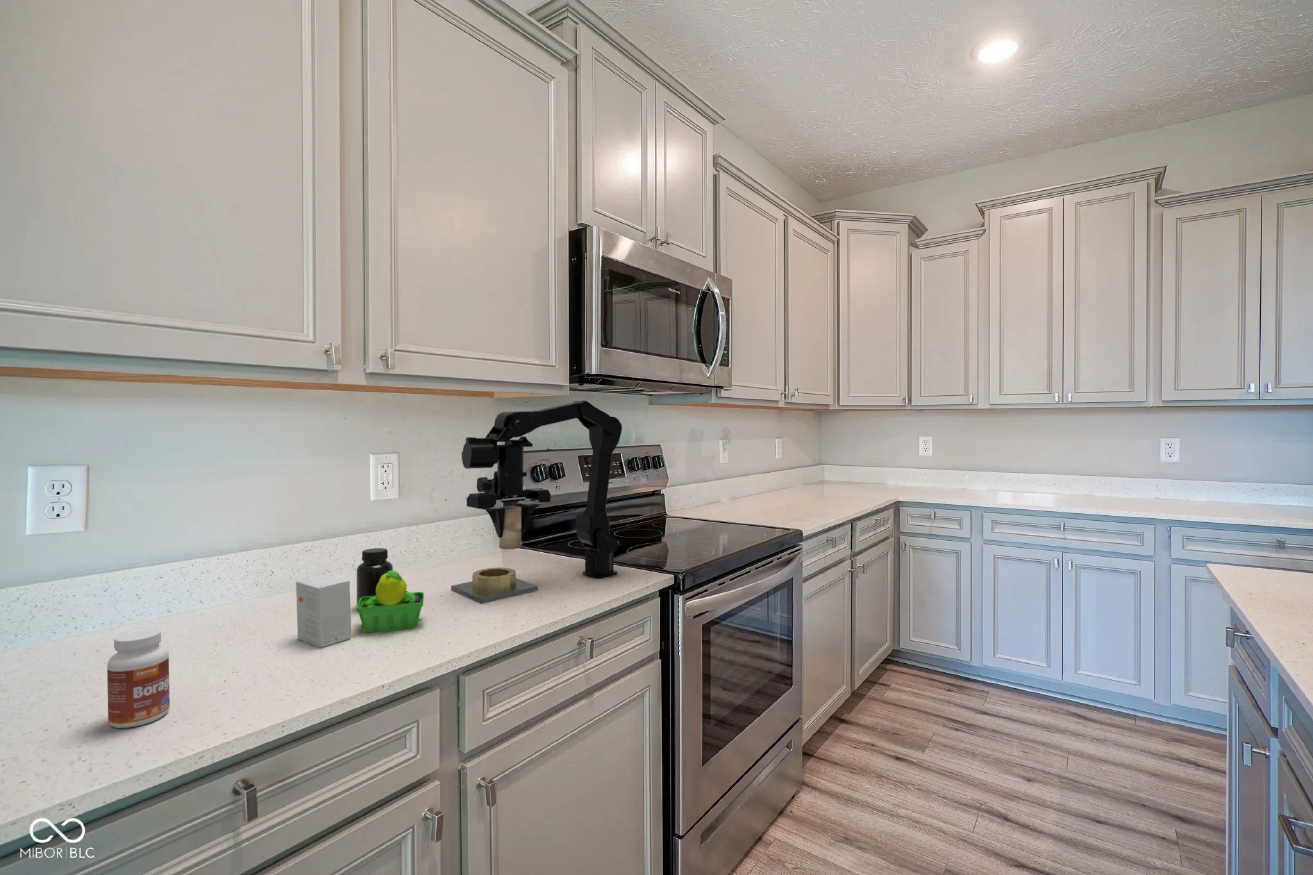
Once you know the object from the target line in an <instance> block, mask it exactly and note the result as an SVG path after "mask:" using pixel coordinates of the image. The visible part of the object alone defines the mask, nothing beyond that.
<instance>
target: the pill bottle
mask: <svg viewBox="0 0 1313 875" xmlns="http://www.w3.org/2000/svg"><path fill="white" fill-rule="evenodd" d="M161 642H162V631H161V630H160V629H157V628H144V629H138V630H133V631H127V632H125V633H122V634H119V635H117V636H116V637H114V639H113V648H114V650H115V651H116V653H114V654H113V655H112V656H111V657H110V658H109V659H108V661H107V664H106V668H107V670H106V672H107V673H106V677H107V678H106V679H107V716H108V717H107V719H108V721H107V722H108V724H109V726H110V727H112V728H116V729H125V728H126V729H128V728H133V727H139V726H143V725H147V724H149V723H152V722H156V720H158V719H160V718H162V717H164V716H165V715H166V714H167V713H168V712H169V711H170V709H171V708H170V707H171V705H170V704H171V703H170V702H171V701H170V700H171V698H170V693H171V692H170V656H169V650H168V648H167V647H165V646H163V645H160V643H161Z"/></svg>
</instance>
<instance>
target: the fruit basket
mask: <svg viewBox="0 0 1313 875" xmlns="http://www.w3.org/2000/svg"><path fill="white" fill-rule="evenodd" d="M407 584H408V583H407V581H405V579H404V578H403V576H401V575H400V572H398V571H396V570H394V569H393V570H392V571H388V572H387V573H386V574H384V575H383V576H382V577H381V578H380V580H379V582H378V584H377V586H376V596H366V597H362V598H360V600H359V603H358V605H357V604H356V607H355V608H356V611H357V613H358V615H359V619H360V623H361V625H362V629H363V632H364V633H375V632H385V631H387V632H388V631H392V630H404V629H413V628H415V629H416V628H417V627H418V622H419V618H420V616H421V610H422V607H423V606H424V600H425V598H424V596H425V592H424V591H413V592H410V591H408V590H407V589H408V588H407V587H408V585H407Z"/></svg>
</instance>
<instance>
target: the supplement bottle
mask: <svg viewBox="0 0 1313 875" xmlns="http://www.w3.org/2000/svg"><path fill="white" fill-rule="evenodd" d="M387 559H389V555H388V549H387V548H384V547H377V548H376V547H374V548H366V549H363V550H362V551H361V561H362V563H360V564H359V565H358V566H357V568H356V606H357V605H358V603H359V600H360V598H362V597H366V596H376V586H377V584H378V582H379V580H380V578H381V577H382V576H383V575H384V574H386V573H387V572H388V571H392V570H393V571H394V568H393V564H392V562H390V561H388V560H387Z"/></svg>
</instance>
